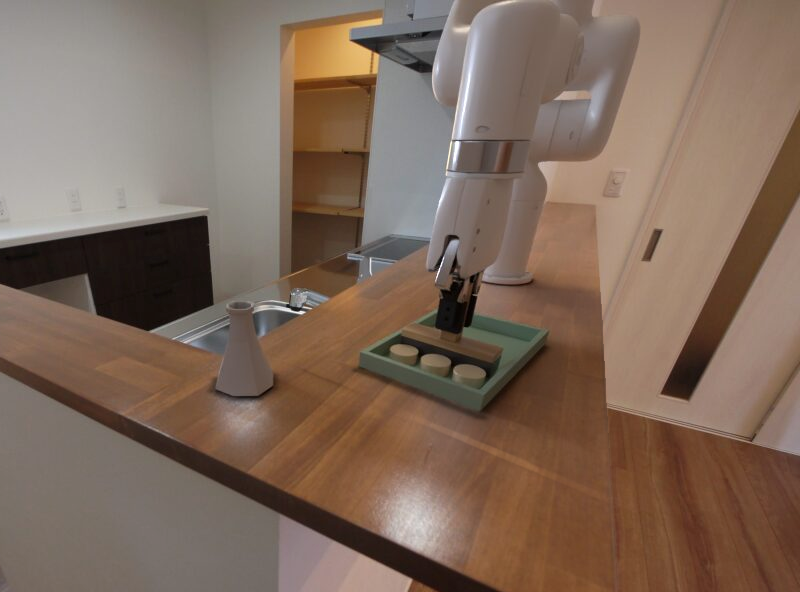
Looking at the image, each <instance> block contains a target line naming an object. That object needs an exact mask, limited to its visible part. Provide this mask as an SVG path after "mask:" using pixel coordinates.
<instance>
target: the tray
mask: <svg viewBox="0 0 800 592" xmlns="http://www.w3.org/2000/svg"><path fill="white" fill-rule="evenodd" d="M437 312H438V308H435V309H434V310H432V311H430V312H429V313H427V314H425V315H423V316H422V317H420V318H418V319H416V320H414V321H413V322H410V323H409V324H407V325H406V326H403V327H402V328H400V329H397V331H394V332H393V333H391V334H389V335H387V336H385V337H384V338H382V339H380V340H379V341H377V342H375V343H373V344H371V345H369V346H368V347H366V348H364V349H362V350H360V351H359V359H358V360H359V361H358V367H360V368H363V369H365V370H367V371H371V372H374V373H376V374H378V375H381V376H384V377H386V378H389V379H392V380H394V381H398V382H400V383H403V384H405V385H408V386H410V387H413V388H416V389H418V390H422V391H425V392H427V393H429V394H432V395H434V396H437V397H440V398H443V399H445V400H448V401H451V402H453V403H456V404H458V405H462V406H465V407H467V408H469V409H472V410H474V411H477V412H481V411H482V410H483V409H484V408H485V407H486V406H487V405H488V404H489V402H491V400H493V398H494V397H495V396H497V394H498V393H499V392H500V391H501V390H502V389H503V388H504V387H505V386H506V385H507V384H508V383H509V382H510V381H511V380H512V379H513V378H514V377H515V376H516V375H517V374H518V372H519V371H520V370H521V369H522V368H523V367H524V366H526V364H527V363H528V362H529V361H530V360H531V359H532V358H533V357H534V356H535V355H536V354H537V353H538V351H540V350H541V348H542V347H544V346H545V344H546V342H547V340H548V337H549V333H550V330H549V329H546V328H542V327H537V326H533V325H529V324H524V323H520V322H516V321H513V320H508V319H504V318H499V317H495V316H491V315H486V314H483V313H479V312H475V311H474V315H473V319H472V324H471V326H469V327H468V328H466V327H464V328H463V333H462V336H463V337H467V338H470V339H474V340H477V341H481V342H484V343H488V344H492V345H495V346H499V347H502V348H504V349H503V352H502V355H501V359H500V363H499V367H498V370H497V371H496V372H494V373H493V374H492V375H491V376H490V377H489V378H486V377H485V381H484V385H483V386H482V387H481V388H479V389H476V388H473V387H470V386H467V385H464V384H461V383H458V382H455V381H453V380H452V374H453V369H454V367H453V366H451V367H450V372H449V374H448V375H447V376H445V377H441V376H438V375H435V374H432V373H429V372H426V371H423V370H421V369H419V367H420V361H421V357H422V356H419V355H418V358H417V363H416V364H415V365H412V366H409V365H406V364H403V363H400V362H397V361H394V360H391V359H389V353H390V348H391V347H392V346H393V345H398V344H400V342H401V336H402V329H403V328H405V327H407V326H408V325H410V324H412V323H417V324H420V325H424V326H427V327H431V328H435V329H437V328H436V327H435V323H436V317H437ZM438 330H439V329H438Z"/></svg>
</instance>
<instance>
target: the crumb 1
mask: <svg viewBox="0 0 800 592" xmlns="http://www.w3.org/2000/svg"><path fill="white" fill-rule="evenodd" d="M417 358H418V349H417V348H415V347H413V346H410V345H404V344H398V345H393V346H392V347H391V348H390V353H389V359H391V360H394V361H397V362H400V363H403V364H406V365H409V366H412V365H415V364H416V363H417Z"/></svg>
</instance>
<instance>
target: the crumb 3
mask: <svg viewBox="0 0 800 592" xmlns="http://www.w3.org/2000/svg"><path fill="white" fill-rule="evenodd" d="M485 377H486V372H485V371H484V370H483V369H482V368H480V367H477V366H474V365H469V364H461V365H457V366H455V367H454V369H453V374H452V380H453V381H455V382H458V383H461V384H464V385H467V386H470V387H473V388H476V389H479V388H481V387H482V386H483V385H484V381H485Z"/></svg>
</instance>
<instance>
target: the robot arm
mask: <svg viewBox="0 0 800 592" xmlns="http://www.w3.org/2000/svg"><path fill="white" fill-rule="evenodd" d="M595 1H596V0H454V1H453V2H452V5H451V7H450V9H449V10H450V11H449V13H448V16H447V18H446V22H445V24H444V27H443V30H442V32H441V35H440V39H439V42H438V45H437V49H436V53H435V56H434V60H433V66H432V75H431V85H432V86H431V87H432V91H433V94H434V97H435V99H436V101H437V102H438V103H439V104H440V105H442V106H444V107H447V108H452V109H455V115H454V121H453V128H452V134H451V141H450V145H449V151H448V158H447V163H446V170H445V175H444V176H445V177H446V179H445V181H444V184H443V187H442V191H441V193H440V197H439V201H438V205H437V209H436V213H435V217H434V221H433V226H432V231H431V234H430V240H429V246H428V249H427V256H426V263H425V268H426V271H427V272H428V273H436V272H437V276H436V278H435V281H434V287H435V288H436V289H438V290H439V294H438V299H439V301H438V306H437V309H438V312H437V317H436V323H435V327H436V328H437V329H439V330H443V331H447V332H450V333H454V334H459V333H461V332H462V328H463V324H464V319H465V314H466V309H467V305H468V302H466V301H465V299H466V295H467V290H468V285H469V282H470V283H473V287H472V292H471V296H470V301H469V306H468V310H467V315H466V319H465V324H464V327H466V328H468V327H469V326H471V324H472V319H473V315H474V312H475V310H476V306H477V301H478V295H479V293H480V290H481V286H482V282H485V283H490V284H495V285H496V284H497V285H523V284H528V283H530V282H531V281H532V279H533V276H534V275H533V273H532V272H531V271H529V270H527V267H528V263H529V259H530V257H531V252H532V248H533V246H534V241H535V238H536V234H537V230H538V227H539V223H540V220H541V216H542V212H543V208H544V204H545V201H546V197H547V194H548V181H547V179H546V176H545V175H544V173H543V172H542V170H541V169H540V165H539V163H546V162H565V163H566V162H568V163H573V162H574V163H575V162H577V163H578V162H590V161H592V160H594V159H596V158H598V157H599V156H600V155H601V154H602V153H603V151H604V150H605V147H606V146H607V144H608V142H609V139H610V136H611V133H612V131H613V127H614V124H615V121H616V119H617V115H618V112H619V108H620V106H621V103H622V101H623V100H622V99H623V96H624V94H625V90H626V88H627V84H628V81H629V78H630V75H631V73H632V69H633V65H634V62H635V60H636V59H635V58H636V55H637V52H638V48H639V43H640V40H641V39H640V37H641V23H640V20H639V19H638V18H637V17H636V16H635V15H633V14H628V13H627V14H626V13H621V14H620V13H619V14H618V13H617V14H608V15H600V16H599V15H598V16H593V8H594V4H595ZM582 91H583V92H584V91H586V92H588V93H589V94H590V97H591V98H579V99H557V98H558V97H559V96H561V95H562V94H563V93H564V92H582ZM456 280H457V281H461V283H460V287H459V283H458V282H455V281H456Z"/></svg>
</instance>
